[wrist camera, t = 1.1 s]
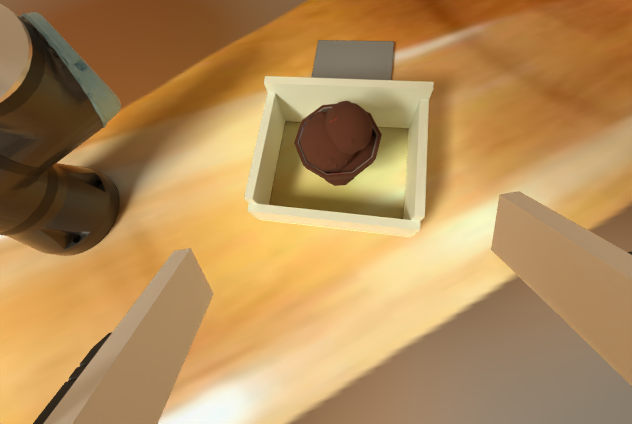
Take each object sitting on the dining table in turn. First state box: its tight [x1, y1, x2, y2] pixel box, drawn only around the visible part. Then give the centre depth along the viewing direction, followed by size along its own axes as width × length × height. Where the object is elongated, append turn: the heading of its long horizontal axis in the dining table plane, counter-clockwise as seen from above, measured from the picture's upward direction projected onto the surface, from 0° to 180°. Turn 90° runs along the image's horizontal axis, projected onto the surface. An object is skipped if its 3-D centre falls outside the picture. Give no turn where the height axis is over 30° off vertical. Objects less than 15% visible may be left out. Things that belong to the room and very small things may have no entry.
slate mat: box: [312, 40, 394, 80], centre depth 47 cm, size 14×14×1 cm
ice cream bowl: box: [294, 101, 381, 186], centre depth 36 cm, size 11×11×15 cm
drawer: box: [244, 76, 434, 237], centre depth 39 cm, size 23×19×9 cm
